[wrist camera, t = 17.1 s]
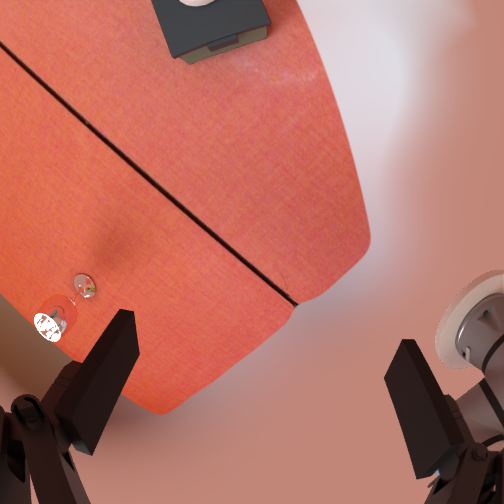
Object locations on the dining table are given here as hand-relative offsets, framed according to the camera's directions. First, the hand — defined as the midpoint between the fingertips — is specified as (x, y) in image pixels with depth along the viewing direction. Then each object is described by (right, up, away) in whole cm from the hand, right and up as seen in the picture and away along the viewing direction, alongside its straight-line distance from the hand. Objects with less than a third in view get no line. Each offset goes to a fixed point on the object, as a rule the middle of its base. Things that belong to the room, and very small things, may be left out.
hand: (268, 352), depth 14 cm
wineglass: (-28, -1, +32) cm, 42 cm away
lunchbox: (-6, +35, +15) cm, 38 cm away
